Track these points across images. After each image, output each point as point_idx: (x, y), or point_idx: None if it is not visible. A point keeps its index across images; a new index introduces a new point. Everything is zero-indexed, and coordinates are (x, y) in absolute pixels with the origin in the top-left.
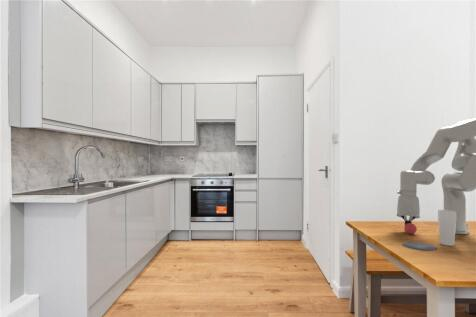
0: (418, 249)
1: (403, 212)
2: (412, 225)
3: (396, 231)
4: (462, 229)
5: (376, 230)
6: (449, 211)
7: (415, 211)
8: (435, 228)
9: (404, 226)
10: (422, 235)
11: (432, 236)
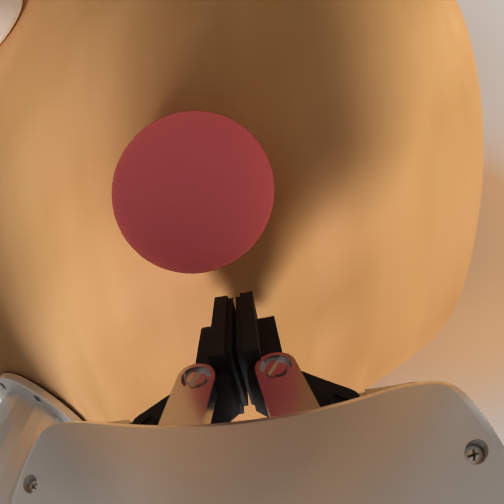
0: None
1: (371, 451)
2: (142, 145)
3: (342, 232)
4: (2, 400)
5: (471, 173)
6: None
7: (58, 497)
8: None
9: (273, 189)
10: (96, 196)
11: (38, 214)
